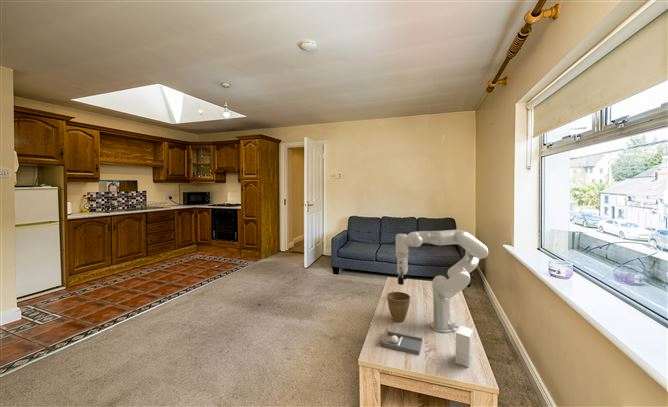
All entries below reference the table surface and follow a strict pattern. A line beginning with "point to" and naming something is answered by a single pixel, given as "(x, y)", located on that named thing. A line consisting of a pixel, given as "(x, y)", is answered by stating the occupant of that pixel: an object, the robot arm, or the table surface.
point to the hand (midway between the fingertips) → (402, 281)
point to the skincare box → (464, 346)
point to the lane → (402, 342)
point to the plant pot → (398, 305)
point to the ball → (394, 339)
